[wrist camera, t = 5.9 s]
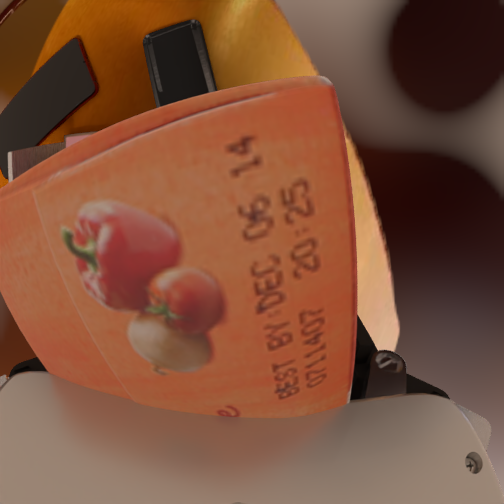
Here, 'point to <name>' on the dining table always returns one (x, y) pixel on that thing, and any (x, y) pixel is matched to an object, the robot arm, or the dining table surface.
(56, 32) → the dining table surface
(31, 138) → the smartphone
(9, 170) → the bookend
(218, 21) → the dining table surface
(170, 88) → the phone
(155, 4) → the dining table surface
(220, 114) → the cracker box
